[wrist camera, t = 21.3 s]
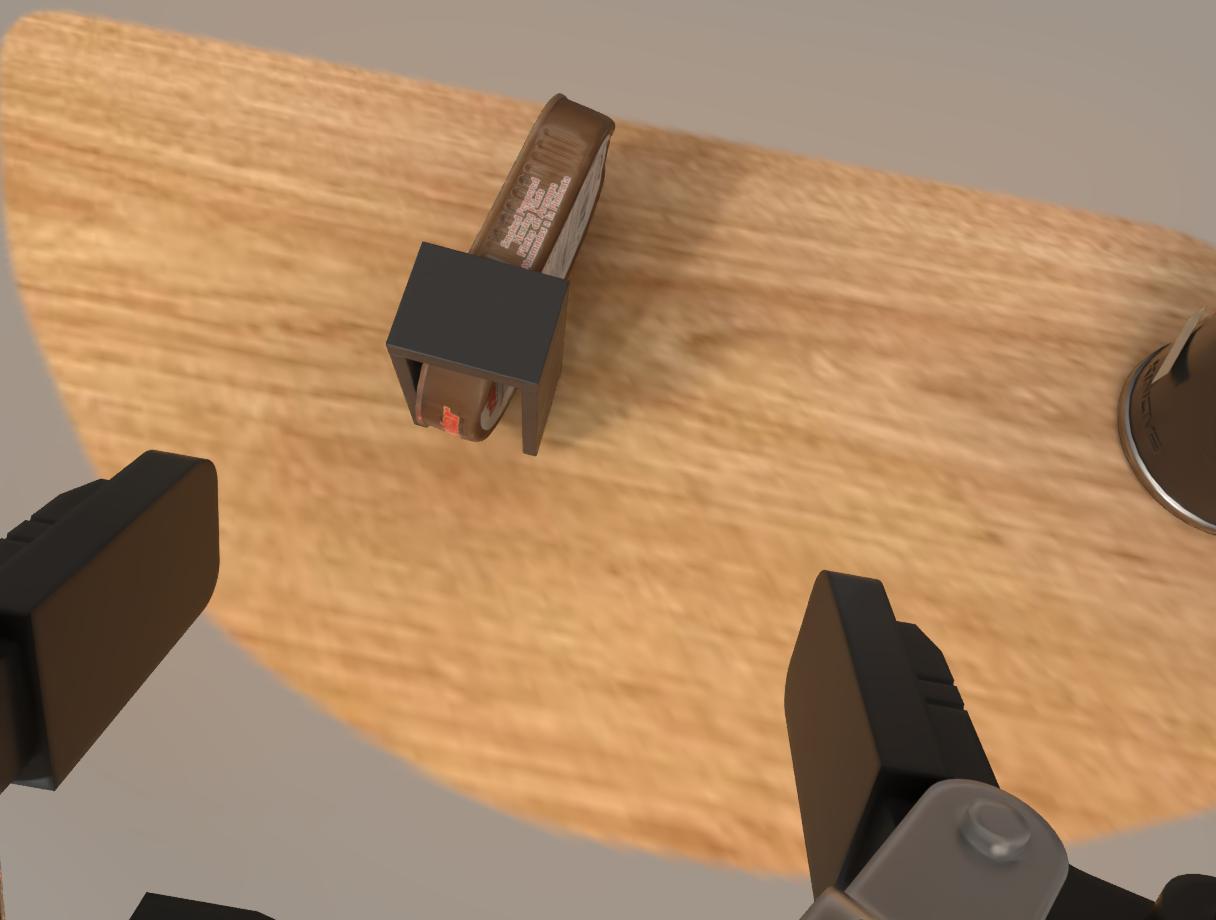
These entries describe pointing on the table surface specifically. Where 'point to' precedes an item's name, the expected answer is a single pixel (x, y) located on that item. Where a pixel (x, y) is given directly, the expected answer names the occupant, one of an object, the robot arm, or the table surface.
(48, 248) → the table surface
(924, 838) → the robot arm
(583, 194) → the tin
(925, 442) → the table surface
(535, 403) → the dark grey stool
